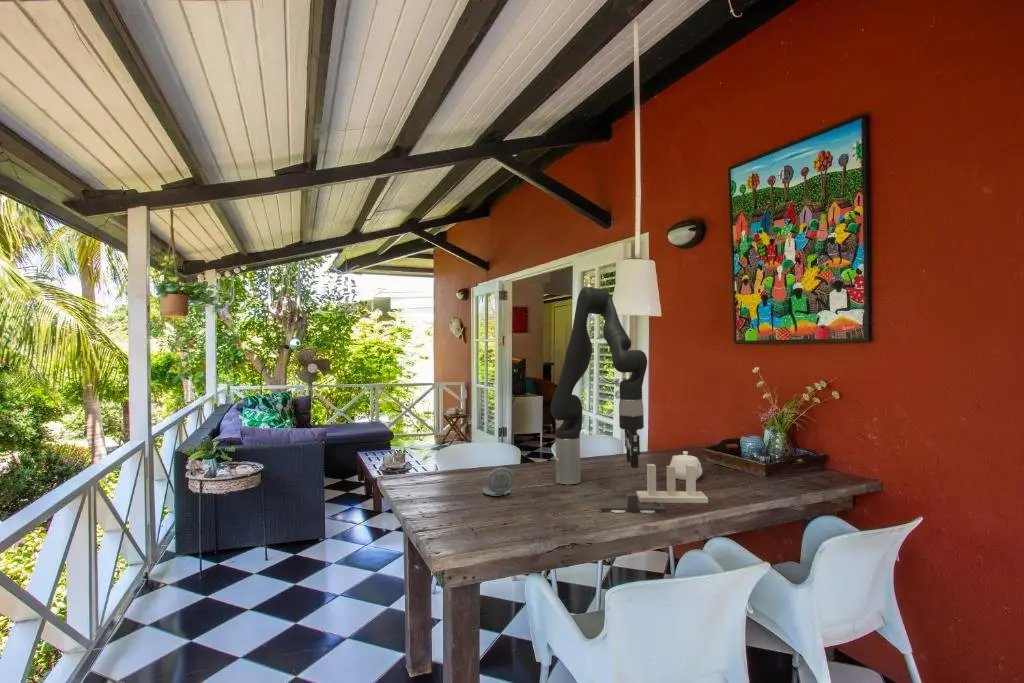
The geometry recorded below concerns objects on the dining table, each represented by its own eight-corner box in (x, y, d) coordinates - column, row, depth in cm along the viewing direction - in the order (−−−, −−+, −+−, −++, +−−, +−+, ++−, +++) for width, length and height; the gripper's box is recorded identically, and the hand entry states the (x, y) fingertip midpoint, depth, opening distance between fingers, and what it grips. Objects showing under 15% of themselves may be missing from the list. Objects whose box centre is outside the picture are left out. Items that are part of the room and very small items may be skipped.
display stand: (640, 502, 175) (639, 467, 175) (636, 495, 183) (635, 462, 183) (708, 502, 174) (707, 468, 174) (701, 495, 182) (700, 462, 182)
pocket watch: (487, 469, 179) (478, 459, 194) (487, 501, 179) (479, 489, 194) (515, 466, 182) (505, 457, 196) (515, 498, 182) (505, 487, 196)
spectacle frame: (601, 513, 165) (600, 496, 165) (598, 504, 173) (598, 489, 173) (666, 514, 163) (666, 497, 163) (660, 505, 172) (660, 489, 172)
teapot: (715, 483, 197) (715, 456, 197) (685, 485, 194) (685, 458, 194) (687, 470, 217) (686, 445, 217) (659, 472, 214) (658, 447, 214)
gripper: (616, 410, 174) (617, 459, 174) (622, 416, 160) (623, 470, 160) (639, 410, 173) (640, 459, 173) (647, 416, 159) (648, 470, 159)
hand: (632, 464), depth 167 cm, fingers open, 8 cm apart
